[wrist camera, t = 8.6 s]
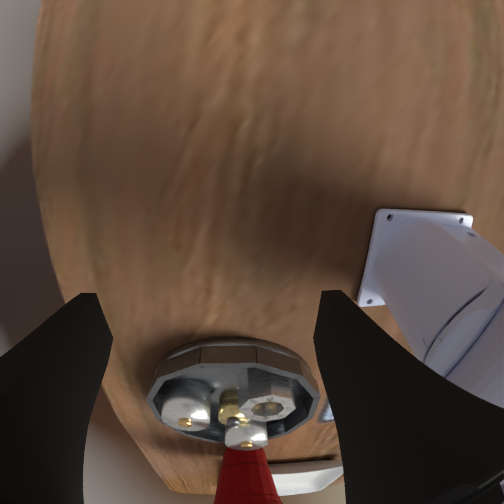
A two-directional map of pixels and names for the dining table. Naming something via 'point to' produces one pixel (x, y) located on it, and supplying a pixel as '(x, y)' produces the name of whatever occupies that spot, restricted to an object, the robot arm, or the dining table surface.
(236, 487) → the plastic cup
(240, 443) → the carrier
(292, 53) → the dining table surface
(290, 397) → the octagonal tube
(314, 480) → the salad plate
